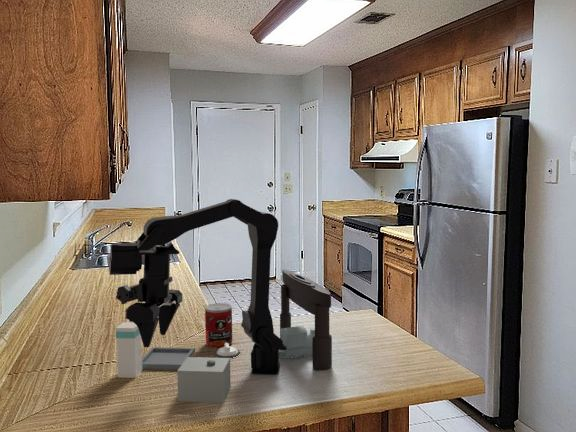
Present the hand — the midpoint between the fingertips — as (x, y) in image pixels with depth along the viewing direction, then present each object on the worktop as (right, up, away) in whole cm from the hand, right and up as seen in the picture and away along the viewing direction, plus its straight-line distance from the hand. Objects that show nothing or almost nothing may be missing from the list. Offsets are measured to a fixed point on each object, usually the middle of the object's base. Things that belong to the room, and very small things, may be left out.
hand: (155, 340), depth 118 cm
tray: (-2, -10, +18) cm, 20 cm away
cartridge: (-9, -11, +9) cm, 16 cm away
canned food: (+11, -9, +31) cm, 34 cm away
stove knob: (+14, -10, +23) cm, 28 cm away
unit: (+12, -12, -2) cm, 17 cm away
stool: (+35, -9, +23) cm, 43 cm away
